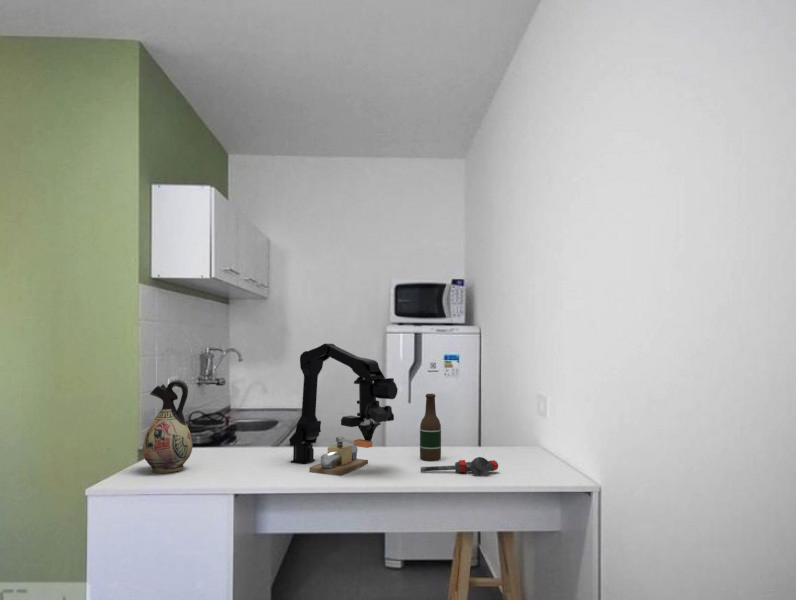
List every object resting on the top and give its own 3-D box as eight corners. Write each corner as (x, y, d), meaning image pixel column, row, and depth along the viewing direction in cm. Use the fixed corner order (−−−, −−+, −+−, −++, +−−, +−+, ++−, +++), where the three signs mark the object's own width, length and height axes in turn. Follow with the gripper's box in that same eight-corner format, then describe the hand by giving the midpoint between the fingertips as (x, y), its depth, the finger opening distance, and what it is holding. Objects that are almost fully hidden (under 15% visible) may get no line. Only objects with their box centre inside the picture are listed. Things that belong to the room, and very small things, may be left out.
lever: (334, 442, 192) (334, 436, 192) (340, 441, 194) (340, 435, 194) (366, 447, 182) (366, 442, 182) (372, 446, 184) (372, 441, 184)
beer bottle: (415, 459, 207) (415, 393, 208) (430, 456, 212) (430, 392, 214) (430, 462, 201) (430, 395, 203) (445, 459, 206) (445, 394, 208)
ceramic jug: (132, 475, 178) (136, 381, 181) (155, 465, 194) (158, 378, 196) (184, 476, 178) (187, 381, 180) (203, 465, 193) (206, 378, 195)
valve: (494, 473, 194) (501, 476, 180) (420, 476, 195) (421, 479, 180) (493, 454, 196) (500, 456, 181) (419, 457, 196) (420, 459, 182)
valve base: (309, 471, 185) (309, 445, 186) (338, 461, 202) (338, 436, 203) (340, 475, 180) (341, 448, 181) (367, 464, 197) (368, 439, 198)
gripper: (360, 402, 175) (361, 452, 174) (404, 396, 187) (405, 443, 187) (339, 399, 183) (340, 447, 182) (383, 394, 196) (383, 439, 195)
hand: (368, 444), depth 186 cm, fingers closed
